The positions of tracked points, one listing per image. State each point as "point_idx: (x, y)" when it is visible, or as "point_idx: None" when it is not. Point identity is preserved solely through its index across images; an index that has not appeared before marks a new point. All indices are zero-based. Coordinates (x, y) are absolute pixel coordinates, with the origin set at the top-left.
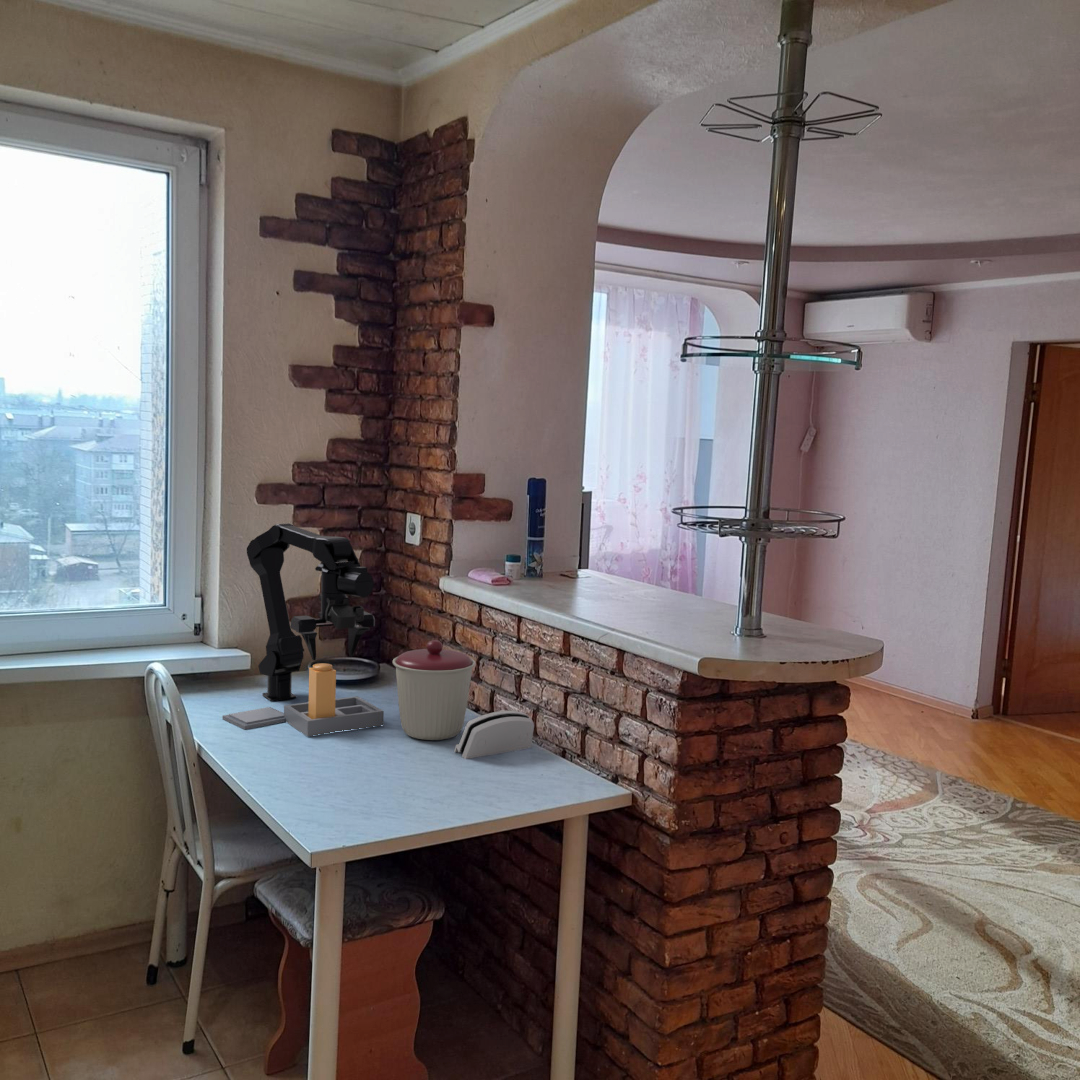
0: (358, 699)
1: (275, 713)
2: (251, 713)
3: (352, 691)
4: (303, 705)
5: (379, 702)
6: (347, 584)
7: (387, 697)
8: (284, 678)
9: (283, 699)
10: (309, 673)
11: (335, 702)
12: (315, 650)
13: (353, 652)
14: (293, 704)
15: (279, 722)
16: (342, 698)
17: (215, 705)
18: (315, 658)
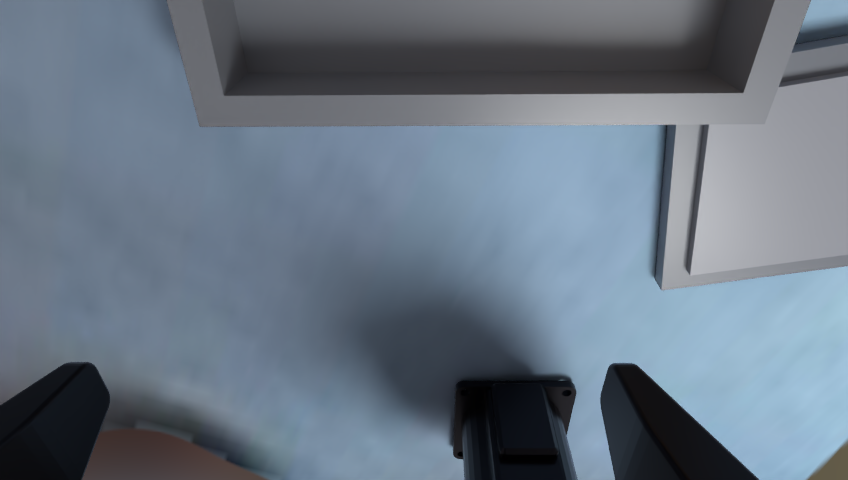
0: (210, 37)
1: (745, 153)
2: (843, 208)
3: (186, 385)
4: (634, 90)
5: (73, 192)
6: None
7: (20, 255)
8: (529, 471)
9: (519, 381)
10: None
11: (385, 88)
12: (693, 478)
13: (21, 399)
14: (701, 114)
15: None
16: (322, 114)
17: (786, 411)
18: (624, 376)
